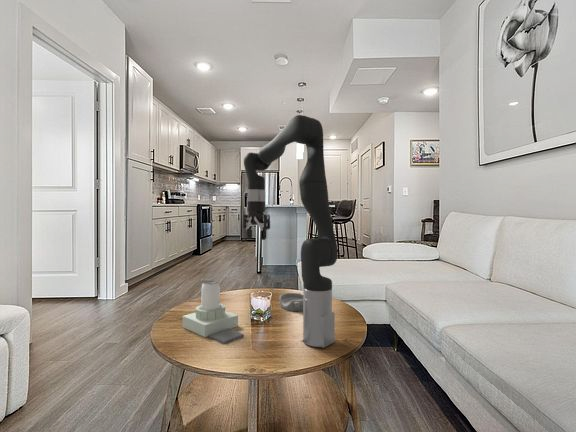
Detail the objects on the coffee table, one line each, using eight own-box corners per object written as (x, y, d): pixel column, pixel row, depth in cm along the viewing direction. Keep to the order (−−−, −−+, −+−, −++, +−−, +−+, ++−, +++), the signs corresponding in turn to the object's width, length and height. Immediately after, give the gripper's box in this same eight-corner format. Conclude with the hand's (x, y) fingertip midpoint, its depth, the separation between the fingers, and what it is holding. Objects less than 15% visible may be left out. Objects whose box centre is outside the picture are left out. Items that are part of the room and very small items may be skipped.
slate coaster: (243, 336, 104) (243, 334, 104) (223, 343, 98) (223, 341, 98) (228, 330, 109) (228, 328, 109) (209, 337, 103) (209, 334, 103)
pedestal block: (238, 326, 114) (238, 306, 114) (204, 337, 103) (204, 316, 103) (215, 317, 123) (215, 299, 123) (182, 327, 112) (182, 307, 112)
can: (222, 312, 116) (222, 280, 116) (216, 318, 109) (216, 284, 109) (205, 312, 117) (205, 280, 116) (198, 318, 110) (198, 283, 110)
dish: (301, 314, 128) (301, 302, 128) (272, 309, 135) (273, 297, 135) (316, 305, 140) (316, 294, 140) (289, 301, 147) (289, 290, 147)
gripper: (274, 200, 130) (274, 239, 130) (251, 201, 140) (251, 237, 140) (261, 200, 124) (261, 240, 125) (238, 200, 134) (238, 238, 134)
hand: (256, 239), depth 132 cm, fingers open, 8 cm apart
